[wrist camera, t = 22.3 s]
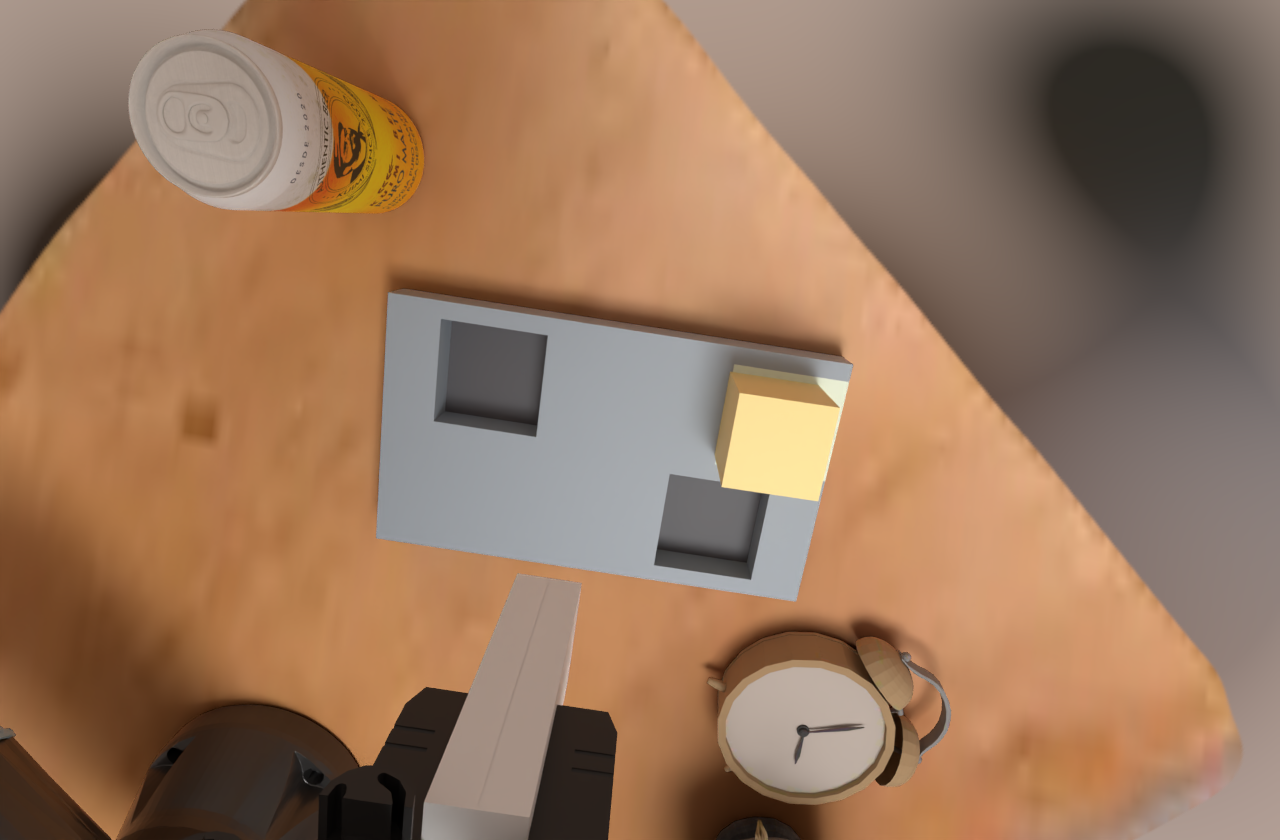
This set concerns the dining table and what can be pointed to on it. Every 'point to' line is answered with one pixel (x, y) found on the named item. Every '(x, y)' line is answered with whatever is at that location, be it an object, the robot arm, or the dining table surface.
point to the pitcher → (758, 830)
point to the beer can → (268, 130)
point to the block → (775, 436)
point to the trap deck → (582, 444)
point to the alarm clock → (821, 717)
